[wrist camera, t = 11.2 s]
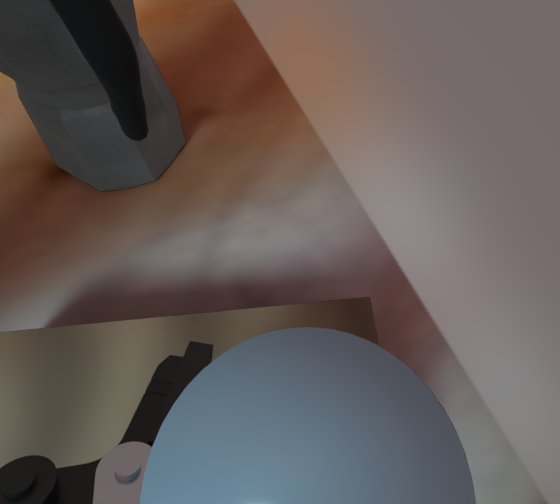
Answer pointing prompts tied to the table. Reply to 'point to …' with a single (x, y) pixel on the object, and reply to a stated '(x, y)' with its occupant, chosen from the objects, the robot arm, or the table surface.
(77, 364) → the shelf
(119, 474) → the robot arm
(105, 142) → the coffeepot
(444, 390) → the table surface
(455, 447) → the blue dome-topped cylinder
